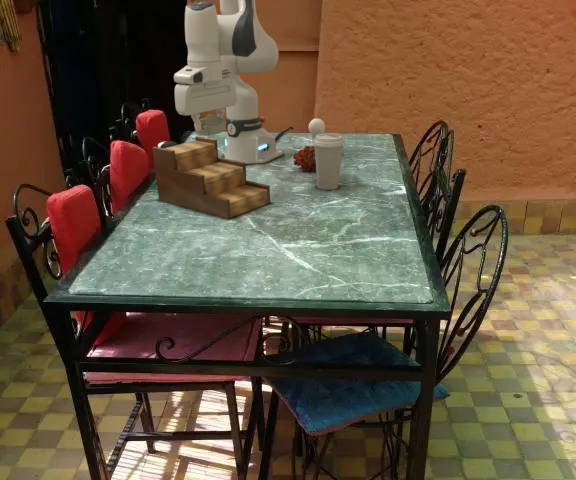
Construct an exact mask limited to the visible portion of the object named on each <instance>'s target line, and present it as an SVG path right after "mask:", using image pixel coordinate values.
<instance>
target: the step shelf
mask: <svg viewBox="0 0 576 480" xmlns="http://www.w3.org/2000/svg"><path fill="white" fill-rule="evenodd" d="M218 147H219V145H218V139H217V138H216V139H215V138H210V137H206V136H200V135H197V136H195V140H191V141H188V142H184V143H180V144H177V145H175V146H171V147H167V148H159V147H158V146H153V147H152V155H153V164H154V170H155V179H156V186H157V187H156V188H157V189H156V190H157V197H158V201H161V202H164V203H168V204H171V205H175V206H179V207H181V208H182V207H183V208H186V209H190V210H194V211H198V212H201V213H204V214H208V215H212V216H216V217H220V218H224V219H226V220H228V219H231V218H233V217H236V216H239V215H242V214H244V213H247V212H249V211H252V210H254V209H258V208H260V207H263V206H265V205H267V204H270V203H271V185H270V184H265V183H261V182H257V181H251V180H247V164H246V163H244V162H239V161H234V160H229V159H225V157H219V148H218Z"/></svg>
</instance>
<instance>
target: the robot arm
mask: <svg viewBox="0 0 576 480" xmlns="http://www.w3.org/2000/svg"><path fill="white" fill-rule="evenodd" d="M219 10H220V14H218V12H217V8H216V4H215V3H214V2H212V1H209V0H195V1H191V2H189V3H187V4H186V6H185V10H184V36H185V37H184V38H185V44H186V47H187V65H185V66H184V67H182V68H181V69H180V70H179V71H177V72H175V73H174V75H173V81H174V83H176V85H175V86H174V103H175V104H174V105H175V110H176V112H177V114H178V115H181V116H190V117H191V119H192V121H193V123H194V124H195V126H194V129H195V128H196V130H198V131H200V130H203V129H204V127H203V126H204V124H203V123H201V122H200V118H201V113H207V112H210V111H216V112H217V113H216V115H217V116H218V117H221V118H222V119H223V120H224V117H225V113H226V117H225V120H224V124H225V127H226V134H225V139H224V145H225V152H224V153H223V155H224V159H229V160H234V161H239V162H244V163H246V165H250V164H265V163H268V162H270V161H272V160H274V159H276V158H278V157H280V156H283V155H284V153H283V151H282V150H281V149H277V143H276V141H277V139H278V138H279V137H280V136H282V135H283V134H285V133H286V132H288V131H290V129H291V130H292V131H293V130H294V128H293V126H289V127H287V129H284V130H282V131H281V132H279V133H278V134H277V135H276V137H274V136H273V135H272V134H271V133H269V132H268V131H267V130H266V129H265V128H264V126H263V123H264V124H266V123H267V121H268V117H267V116H259V97H258V96H259V95H258V92H257V91H256V89H255V88H253V86H251V85H249V84H248V83H246V82H244V81H243V79H242V78H241V75H240V74H263V73H267V72H271V71H273V70H274V69H275V68H276V66H277V64H278V62H279V56H280V54H279V53H280V52H279V48H278V45H277V43H276V41H275V40H274V39H273V38H272V37H271V36H270V35H269V34H267V32H266V31H265V30H264V28H263V26H262V25H261V23H260V21H259V17H258V14H257V9H256V0H219ZM196 130H195V131H196Z"/></svg>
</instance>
